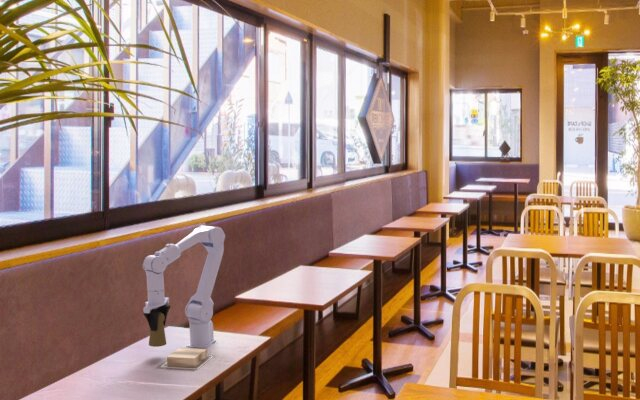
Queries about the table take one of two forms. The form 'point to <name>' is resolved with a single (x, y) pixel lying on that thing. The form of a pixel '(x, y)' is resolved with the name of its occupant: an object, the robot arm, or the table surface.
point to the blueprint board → (164, 366)
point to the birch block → (187, 357)
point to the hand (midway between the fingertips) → (157, 328)
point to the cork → (158, 333)
